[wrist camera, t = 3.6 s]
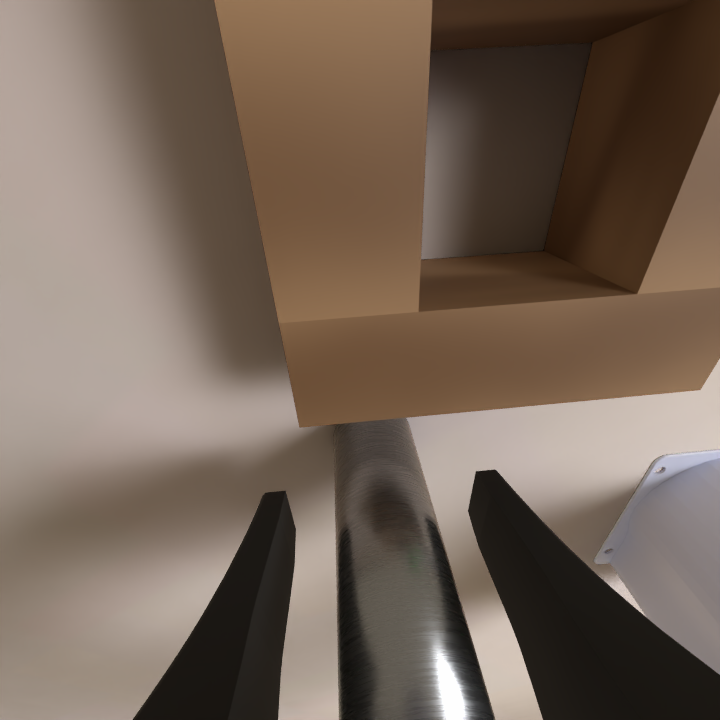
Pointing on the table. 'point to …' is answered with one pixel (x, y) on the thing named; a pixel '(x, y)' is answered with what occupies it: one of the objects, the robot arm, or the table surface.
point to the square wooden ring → (486, 272)
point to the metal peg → (396, 588)
